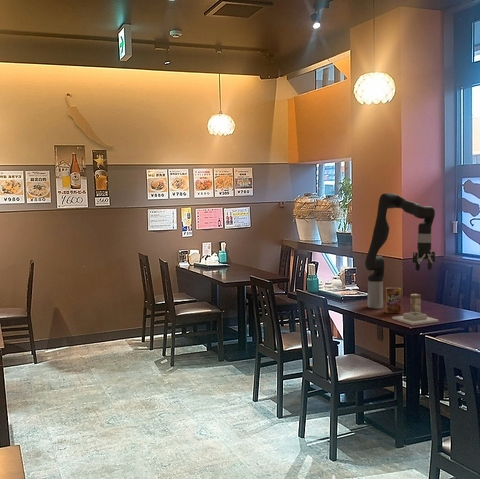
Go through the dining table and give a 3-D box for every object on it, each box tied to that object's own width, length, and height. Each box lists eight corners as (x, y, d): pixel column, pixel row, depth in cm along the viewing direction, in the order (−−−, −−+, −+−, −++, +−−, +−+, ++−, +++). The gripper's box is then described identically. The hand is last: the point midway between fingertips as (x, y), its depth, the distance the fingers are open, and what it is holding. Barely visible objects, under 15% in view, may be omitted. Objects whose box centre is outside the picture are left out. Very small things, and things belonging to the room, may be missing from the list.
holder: (392, 319, 337) (392, 312, 336) (417, 315, 344) (417, 309, 343) (412, 325, 320) (412, 318, 320) (438, 321, 327) (438, 315, 327)
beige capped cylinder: (410, 314, 349) (410, 294, 348) (415, 313, 351) (415, 293, 350) (415, 315, 345) (415, 295, 344) (420, 314, 347) (420, 294, 346)
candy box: (385, 313, 354) (385, 288, 353) (385, 311, 358) (385, 287, 357) (400, 313, 352) (401, 288, 351) (400, 311, 357) (400, 287, 355)
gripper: (429, 240, 334) (428, 268, 335) (409, 241, 328) (409, 269, 329) (438, 241, 327) (438, 270, 328) (419, 242, 321) (418, 271, 322)
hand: (423, 270), depth 329 cm, fingers open, 8 cm apart
